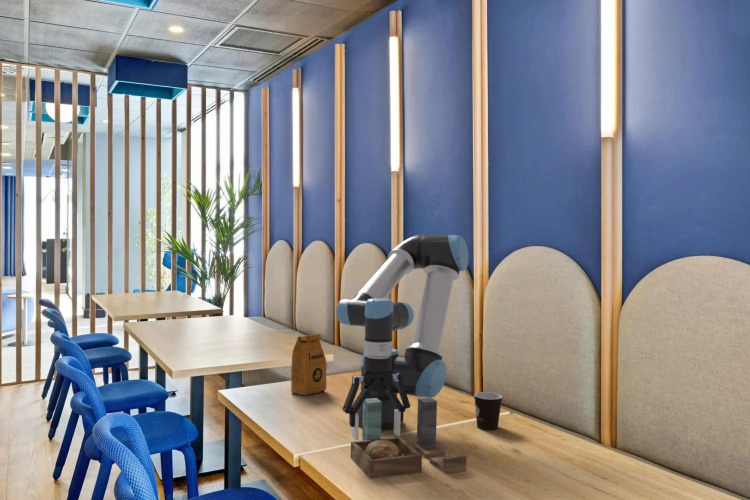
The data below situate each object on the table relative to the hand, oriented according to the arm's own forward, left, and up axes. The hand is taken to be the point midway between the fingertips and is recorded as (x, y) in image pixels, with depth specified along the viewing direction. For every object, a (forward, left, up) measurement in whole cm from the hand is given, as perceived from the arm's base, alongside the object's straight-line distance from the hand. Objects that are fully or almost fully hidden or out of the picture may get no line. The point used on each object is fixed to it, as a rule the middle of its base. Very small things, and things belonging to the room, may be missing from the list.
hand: (376, 436), depth 166 cm
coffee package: (-69, -1, -5) cm, 69 cm away
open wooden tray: (+4, 0, -5) cm, 7 cm away
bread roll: (+6, 0, -5) cm, 8 cm away
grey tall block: (+2, +15, -5) cm, 16 cm away
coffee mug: (-14, +43, -5) cm, 46 cm away
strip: (+13, +15, -5) cm, 21 cm away
